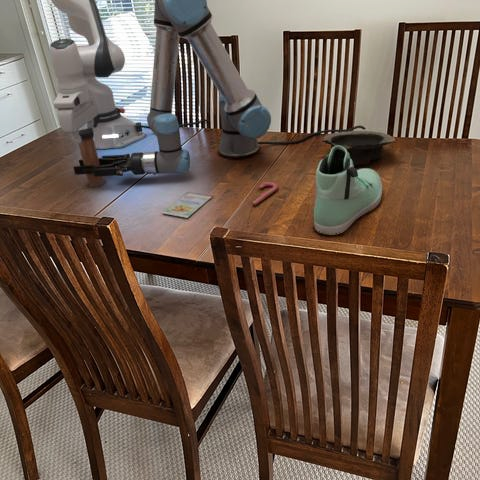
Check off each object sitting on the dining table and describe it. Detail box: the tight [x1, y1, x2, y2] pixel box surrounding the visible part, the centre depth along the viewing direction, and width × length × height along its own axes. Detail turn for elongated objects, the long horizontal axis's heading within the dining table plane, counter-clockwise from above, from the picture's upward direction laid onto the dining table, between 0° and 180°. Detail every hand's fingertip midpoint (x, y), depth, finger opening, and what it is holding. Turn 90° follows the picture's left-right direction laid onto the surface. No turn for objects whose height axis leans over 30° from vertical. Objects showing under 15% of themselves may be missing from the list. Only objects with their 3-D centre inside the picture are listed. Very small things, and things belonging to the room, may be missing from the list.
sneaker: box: [313, 146, 383, 236], centre depth 133 cm, size 14×35×20 cm, turn 152°
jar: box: [77, 137, 105, 188], centre depth 163 cm, size 5×5×18 cm
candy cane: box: [252, 181, 279, 206], centre depth 150 cm, size 6×15×2 cm, turn 145°
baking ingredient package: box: [162, 192, 212, 218], centre depth 147 cm, size 9×1×15 cm
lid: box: [79, 128, 94, 140], centre depth 158 cm, size 6×6×2 cm
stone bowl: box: [321, 130, 396, 167], centre depth 169 cm, size 25×25×9 cm
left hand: (85, 137), depth 158 cm, fingers open, 8 cm apart
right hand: (77, 167), depth 164 cm, fingers closed on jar, 5 cm apart
